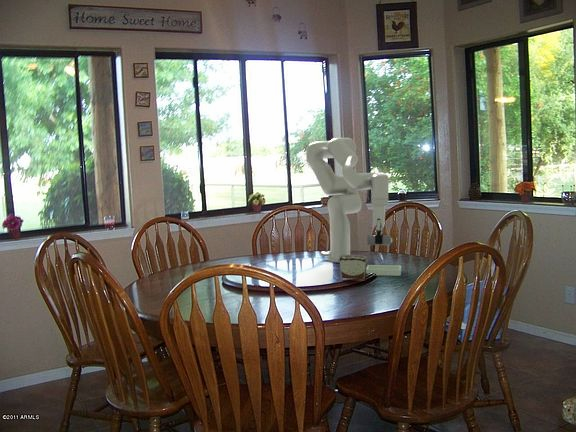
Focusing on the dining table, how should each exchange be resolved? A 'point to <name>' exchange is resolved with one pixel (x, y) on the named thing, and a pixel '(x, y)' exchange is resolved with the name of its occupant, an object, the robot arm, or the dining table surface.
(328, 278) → the dining table surface
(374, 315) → the dining table surface
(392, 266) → the sage trough
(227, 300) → the dining table surface
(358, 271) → the food container
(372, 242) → the gray cylinder
